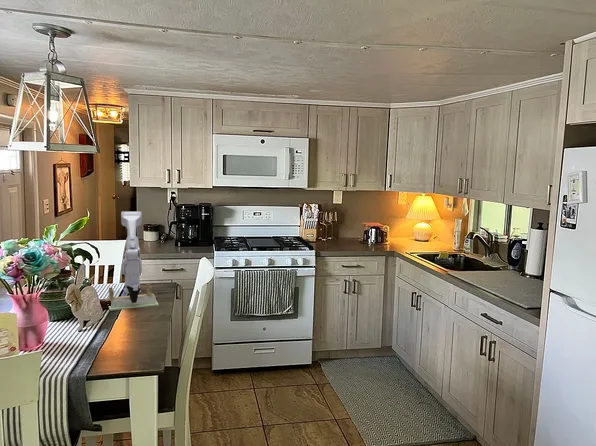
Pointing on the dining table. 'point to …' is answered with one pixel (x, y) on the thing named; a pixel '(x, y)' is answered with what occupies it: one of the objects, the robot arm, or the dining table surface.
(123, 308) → the mat
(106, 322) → the dining table surface
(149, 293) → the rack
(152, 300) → the rail
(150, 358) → the dining table surface
